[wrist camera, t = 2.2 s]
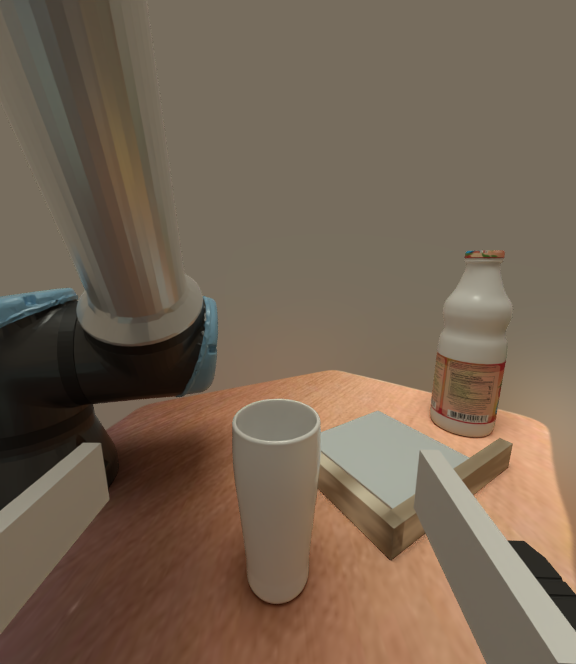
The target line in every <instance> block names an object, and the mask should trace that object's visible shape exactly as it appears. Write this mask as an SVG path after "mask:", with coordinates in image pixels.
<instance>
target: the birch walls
mask: <svg viewBox="0 0 576 664" xmlns="http://www.w3.org/2000/svg"><path fill="white" fill-rule="evenodd" d="M512 445H513V444H512V443H510V442H508V441H505V440H503V439H501V438H499V439H498V440H496V441H495V442H493V443H492V444H490V445H489V446H487V447H486V448H484V449H482V450H481V451H479V452H478V453H476V454H475V455H473V456H472V457H470V458H469V459H467V460H466V461H464V462H463V463H461V464H460V465H458V466H457V467H455V468H454V470H455V472H456V473H457V474H458V476H459V477H460V478H461V480H462V481H463V482H464V484H465V485H466V486H467V488H468V489H469V490H470V492H471V493H472V494H473V495H474V494H475V493H476V492H478V491H479V490H480V489H481V488H483V487H484V486H485V485H486V484H488V483H489V482H490V481H491V480H493V479H494V478H495V477H496V476H498V475H499V474H500V473H502V472H503V471H504V470H505V469H507V468H508V466H509V460H510V455H511V450H512ZM318 489H319V490H320V491H321V492H322V493H323V494H324V495H325V496H326V497H327V498H328V499H329V500H330V501H331V502H332V503H333V504H334V505H335V506H336V507H337V508H338V509H339V510H340V511H341V512H342V513H343V514H344V515H345V516H346V517H347V518H348V519H349V520H350V521H351V522H352V523H353V524H354V525H355V526H356V527H358V528H359V529H360V530H361V531H362V532H363V533H364V534H365V535H366V536H367V537H368V538H369V539H370V540H371V541H372V542H373V543H374V544H375V545H376V546H377V547H378V548H379V549H380V550H381V551H382V552H383V553H384V554H385V555H386V556H387V557H388V558H389V559H390V560H392V559H393V558H394V557H396V556H397V555H398V554H399V553H401V552H402V551H403V550H405V549H406V548H407V547H408V546H410V545H411V544H412V543H413V542H415V541H416V540H417V539H418V538H420V537H421V536H422V535H423V534H425V531H424V529H423V527H422V525H421V523H420V520H419V518H418V516H417V514H416V512H415V510H414V499H415V494H414V495H413V496H411V497H410V498H408V499H407V500H405V501H404V502H402V503H401V504H399V505H398V506H396V507H395V508H393V509H392V510H391V509H389V508H388V507H387V506H386V505H385V504H383V503H382V502H381V501H380V500H379V499H377V498H376V497H375V496H374V495H372V494H371V493H370V492H369V491H368V490H366V489H365V488H364V487H363V486H362V485H360V484H359V483H358V482H357V481H355V480H354V479H353V478H352V477H351V476H349V475H348V474H347V473H346V472H345V471H343V470H342V469H341V468H340V467H338V466H337V465H336V464H335V463H334V462H332V461H331V460H330V459H329V458H327V457H326V456H325V455H324V454H323V453H321V458H320V473H319V482H318Z"/></svg>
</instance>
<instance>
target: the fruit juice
mask: <svg viewBox="0 0 576 664" xmlns="http://www.w3.org/2000/svg"><path fill="white" fill-rule="evenodd" d="M504 255H505V253H504V251H467V252H466V254H465V262H466V269H465V271H464V273H463V276H462V278H461V280H460V282H459V284H458V286H457V287H456V289H455V291H454V292H453V293H452V294H451V295H450V296H449V297H448V299H447V300H446V302H445V304H444V308H443V317H444V323H445V326H444V329H443V331H442V332H441V334H440V338H439V342H438V347H437V357H436V365H435V374H434V383H433V390H432V399H431V407H430V416H431V419H432V421H433V422H434V423H435V424H436V425H438V426H439V427H441V428H442V429H444V430H446V431H449V432H451V433H454V434H458V435H462V436H467V437H483V436H487V435H489V434H490V433H491V432H492V431H493V428H494V425H495V420H496V414H497V408H498V402H499V397H500V391H501V385H502V379H503V374H504V367H505V363H506V358H507V348H508V343H507V339H506V335H505V332H506V329H507V327H508V325H509V323H510V321H511V319H512V315H513V306H512V303H511V301H510V300H509V298H508V296H507V295H506V293H505V290H504V286H503V283H502V278H501V272H500V264H501V263H502V262H503V258H504Z"/></svg>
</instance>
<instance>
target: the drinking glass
mask: <svg viewBox="0 0 576 664" xmlns="http://www.w3.org/2000/svg"><path fill="white" fill-rule="evenodd" d="M232 454H233V469H234V478H235V486H236V492H237V499H238V506H239V512H240V519H241V526H242V533H243V540H244V547H245V555H246V568H247V578H248V582H249V585H250V587H251V589H252V591H253V592H254V593H255V594H256V595H257V596H258V597H259V598H260V599H262V600H263V601H265V602H268V603H272V604H281V603H286V602H288V601H291V600H292V599H294V598H295V597H296V596H298V595H299V594H300V593H301V591H302V590H303V588H304V587H305V584H306V582H307V579H308V574H309V555H310V546H311V537H312V529H313V521H314V513H315V505H316V498H317V490H318V482H319V473H320V458H321V429H320V417H319V415H318V413H317V412H316V411H315V410H314V409H313V408H311V407H310V406H308V405H306V404H304V403H301V402H298V401H294V400H288V399H268V400H261V401H257V402H254V403H251V404H249V405H247V406H245V407H243V408H242V409H240V410H239V411H238V412H237V413H236V414H235V416H234V418H233V422H232Z"/></svg>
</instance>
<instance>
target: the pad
mask: <svg viewBox="0 0 576 664" xmlns="http://www.w3.org/2000/svg"><path fill="white" fill-rule="evenodd" d="M420 450H439V451H440V452H441V453H442V455H443V456H444V457H445V458H446V460H447V461H448V462H449V464H450V465H451V466H452V468H453V469H454V468H455V467H457V466H458V465H460V464H461V463H463V462H464V461H466V460H467V459H469V457H467V456H465V455H463V454H461V453H459V452H457V451H455V450H453V449H451V448H449V447H447V446H446V445H444V444H442V443H440V442H438V441H436V440H434V439H432V438H430V437H428V436H426V435H424V434H422V433H420V432H418V431H417V430H415V429H413V428H411V427H409V426H407V425H405V424H403V423H401V422H399V421H397V420H395V419H393V418H391V417H389V416H387V415H386V414H384V413H382V412H380V411H376V412H373V413H370V414H368V415H365V416H363V417H360V418H357V419H355V420H352V421H350V422H347V423H344V424H342V425H339V426H337V427H334V428H331V429H329V430H326V431H323V432H321V452H322V453H323V454H324V455H325V456H326V457H328V458H329V459H330V460H331V461H332V462H334V463H335V464H336V465H337V466H339V467H340V468H341V469H342V470H343V471H345V472H346V473H347V474H348V475H350V476H351V477H352V478H353V479H354V480H356V481H357V482H358V483H359V484H360V485H362V486H363V487H364V488H365V489H367V490H368V491H369V492H370V493H371V494H373V495H374V496H375V497H376V498H378V499H379V500H380V501H381V502H382V503H384V504H385V505H386V506H387V507H388V508H390V509H391V510H392V509H393V508H395V507H396V506H398V505H399V504H401V503H402V502H404V501H405V500H407V499H408V498H410V497H411V496H413V495H414V494H415V490H416V480H417V471H418V461H419V452H420Z"/></svg>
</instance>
